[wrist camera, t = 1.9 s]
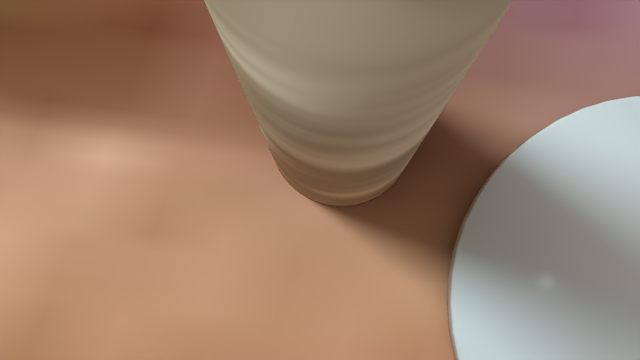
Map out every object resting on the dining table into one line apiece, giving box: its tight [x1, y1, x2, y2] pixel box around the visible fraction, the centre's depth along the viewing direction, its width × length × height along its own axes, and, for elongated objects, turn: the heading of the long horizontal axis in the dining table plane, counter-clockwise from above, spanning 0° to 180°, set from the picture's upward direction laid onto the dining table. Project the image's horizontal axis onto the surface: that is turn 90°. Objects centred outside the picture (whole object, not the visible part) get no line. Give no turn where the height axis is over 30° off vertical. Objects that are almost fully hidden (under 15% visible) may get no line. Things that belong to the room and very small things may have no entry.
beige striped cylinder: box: [204, 0, 514, 206], centre depth 14 cm, size 5×5×16 cm
